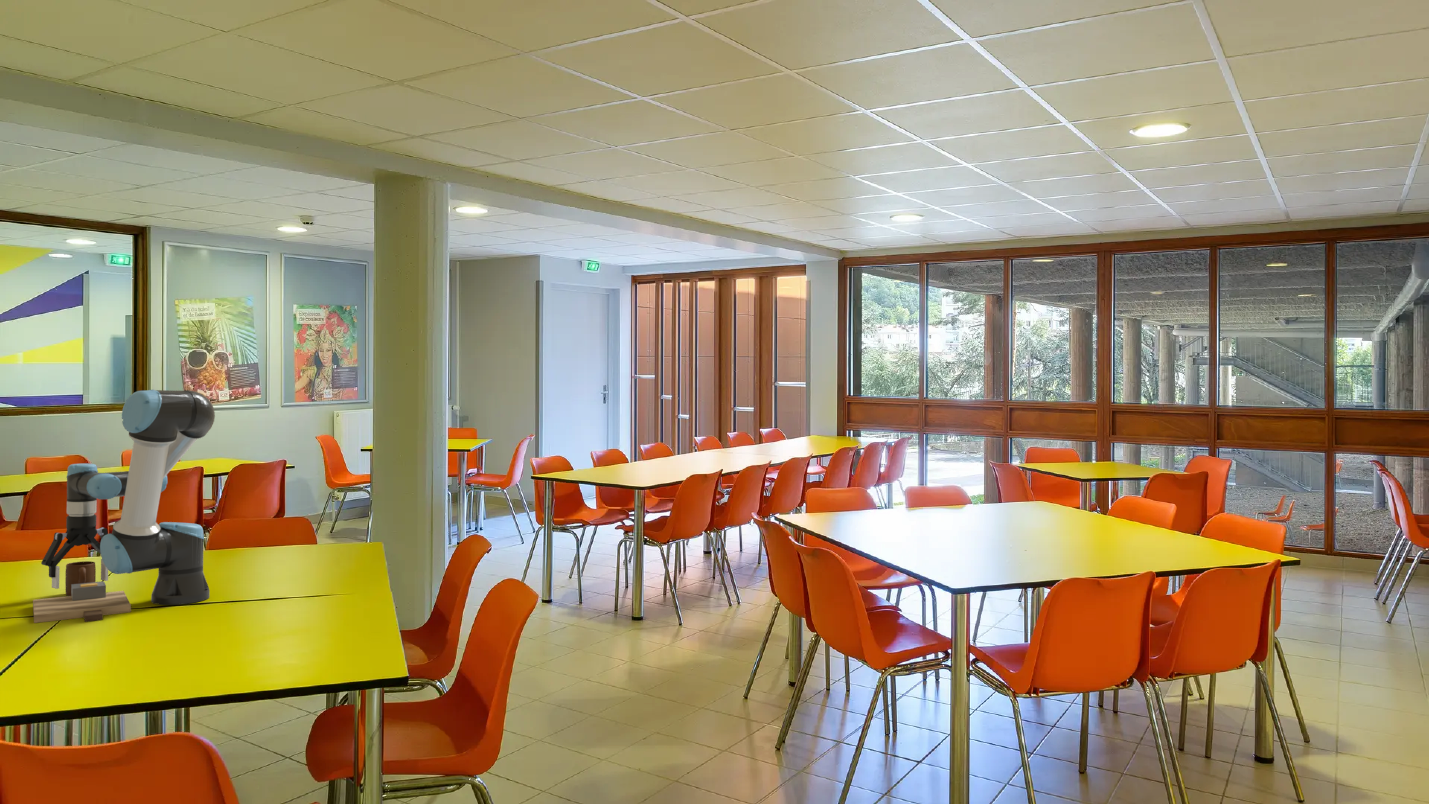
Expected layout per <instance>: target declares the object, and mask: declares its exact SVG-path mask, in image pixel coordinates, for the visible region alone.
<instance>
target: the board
mask: <svg viewBox="0 0 1429 804" xmlns="http://www.w3.org/2000/svg"><path fill="white" fill-rule="evenodd" d="M131 606H132V604H131V603H130V601H129V599H128V596H127V595H126V593H125V591H124V590H117V591H109V592H108V591H106V597H105V598H95V599H85V600H76V601H72V597H71V596H67V595H65V596H57V597H49V598H39V599H33V600H32V607H33V608H32V610H33V611H32V613H33V623H34V624H36V623H47V622H53V621H55V622H56V621H62V620H63V621H64V620H70V619H71V620H72V619H81V618H82V619H83V620H84V622H85V623H87V622H95V621H103V616H106V615H107V616H108V615H115V614H125V613H131V612H132V607H131Z"/></svg>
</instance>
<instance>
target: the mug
mask: <svg viewBox="0 0 1429 804" xmlns="http://www.w3.org/2000/svg"><path fill="white" fill-rule="evenodd" d="M96 571H97V570H96V562H95V561H92V560H91V561H90V560H89V561H87V560H85V561H75V562H68V563H67V564H66V565H65V596H71V584H81V583H91V582H97V581H96V578H97V577H96V574H97V573H96Z"/></svg>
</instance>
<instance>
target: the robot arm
mask: <svg viewBox="0 0 1429 804" xmlns="http://www.w3.org/2000/svg"><path fill="white" fill-rule="evenodd" d="M215 413H216V412H215V409H214V406H213V404H212V402H211V400H210V399H209V398H207V397H206V395H203V394H202V393H200V392H198V391H195V390H189V389H187V390H186V389H184V390H163V389H162V390H160V389H159V390H158V389H148V390H137V391H135V392H133V393H132V394H130V395H129V396H128V397H127V399H126V400H125V401H124V405H123V408H122V411H121V419H122V422H121V424H122V425H123V427H124V429H125V430H126V431H127V432H128V437H129V438H130V439H131V440H132V441H133V443H132V444H133V445H132V450H131V451H132V452H131V457H130V463H129V466H128V467H129V469H128V470H125V471H111V472H110V471H109V472H99V471H98V466H97V465H96V463H95V464H94V463H72V464H70V465H68V467H67V472H66V473H67V474H66V514H67V516H66V522H65V523H66V526H65V527H66V531H65V532H55V533H54V534H53V541H52V542H51V544H50V546H49V547H48V549H47V551H46V553H45V555H44V557H43V559H42V560H41V565H43V566H47V567H48V577H49V578H51V588H53V589H60V568H61V567H60V566H58V565H59V563H60V562H61V561H62V560H63V559H64V557H65V556H66V555H67V554H68V553H69V552H70V550H71V549H73V548H74V547H75V546H76V547H80V546H88V545H91V547H92V548H93V549H95V550H96V551H97V552H98V553H99V554H100V557H101V559H100V580H101V581H104V582H107V581H109V572H110V573H112V574H114V575H122V574H123V575H124V574H132V573H136V572H137V573H138V572H144V571H149V570H150V571H151V570H157V569H158V574H157V575H158V576H157V578H156V581H155V584H154V586H153V590H152V592H151V595H150V596H151V599H150V601H151V603H152V604H154V605H163V606H168V605H169V606H174V605H175V606H176V605H187V604H192V603H198V602H202V601H205V600H208V599H209V598H210V588H209V584H208V583H207V578H206V576H205V573H204V541H205V535H204V529H203V527H202V526H201V524H197V523H193V522H192V523H191V522H178V521H177V522H174V521H173V522H172V521H169V522H168V521H163V522H160V523H159V524H158V522H157V517H158V511H159V505H160V499H161V493H162V492H164V491H165V490H166V488H167V485H168V474H169V473H170V472H171V470H172V469H173V468H174V467H175V466H176V465H177V463H179V461H180V460H181V459H182V458H183V456H184V455H185V454H186V453H187V452H188V451H189V449H191V447H192V446H193V444H195V443H196V441H197V440H200V439H203V438H204V437H205V436H206V435H208V433H209V431H210V430H211V429H212V428H213V425H214V422H215V417H216V414H215ZM120 497H123V503H122V510H121V515H120V520H118V521H115V523H114V524H113V526H112V531H111V533H108V529H107V527H106V528H105V527H99V528H97V527H96V526H97V515H96V513H97V507H98V506H97V504H98V503H97V500H111V499H114V498H120ZM96 535H97V536H99V537H100V538H101V540H100V542H99V541H98V540H97V539H96V538H95V537H96ZM65 539H67V540H66V541H65V542H64V543H63V545H62V541H63V540H65ZM61 545H62V546H61ZM60 546H61V548H60ZM59 548H60V549H59Z"/></svg>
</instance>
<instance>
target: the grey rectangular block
mask: <svg viewBox="0 0 1429 804" xmlns="http://www.w3.org/2000/svg"><path fill="white" fill-rule="evenodd" d="M105 582H106V581H104V580H101V581H95V582H91V583H81V584H71V597H72V601H76V600H85V599H95V598H105V597H106V592H107V585H106V583H105Z"/></svg>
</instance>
